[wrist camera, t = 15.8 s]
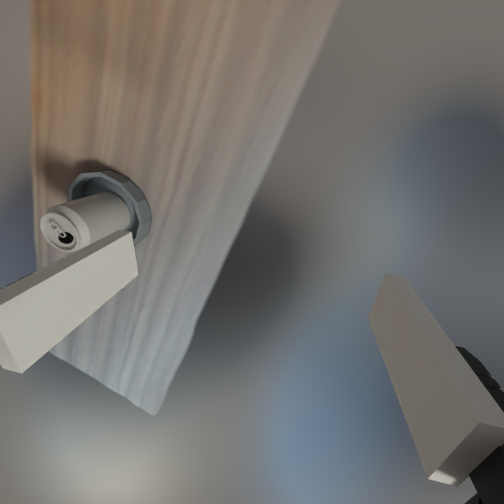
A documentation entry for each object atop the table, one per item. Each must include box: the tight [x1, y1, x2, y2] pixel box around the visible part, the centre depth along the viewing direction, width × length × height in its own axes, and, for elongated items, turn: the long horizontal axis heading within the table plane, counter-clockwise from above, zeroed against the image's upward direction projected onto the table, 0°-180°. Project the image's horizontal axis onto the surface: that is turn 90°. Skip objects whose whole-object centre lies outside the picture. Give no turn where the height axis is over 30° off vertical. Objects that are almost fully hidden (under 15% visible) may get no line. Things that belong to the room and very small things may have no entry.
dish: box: [68, 170, 151, 245], centre depth 44 cm, size 14×14×3 cm
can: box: [40, 192, 130, 252], centre depth 40 cm, size 8×8×12 cm
